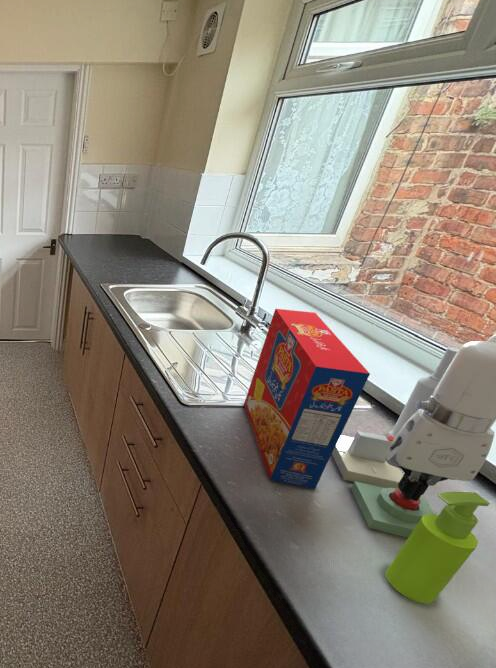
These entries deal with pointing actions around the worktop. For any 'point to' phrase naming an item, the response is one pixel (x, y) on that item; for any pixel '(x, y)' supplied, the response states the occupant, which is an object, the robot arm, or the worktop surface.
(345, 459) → the block
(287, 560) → the worktop surface
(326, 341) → the pasta box
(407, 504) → the button
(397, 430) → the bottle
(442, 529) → the soap dispenser
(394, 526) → the button box
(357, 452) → the tap handle
